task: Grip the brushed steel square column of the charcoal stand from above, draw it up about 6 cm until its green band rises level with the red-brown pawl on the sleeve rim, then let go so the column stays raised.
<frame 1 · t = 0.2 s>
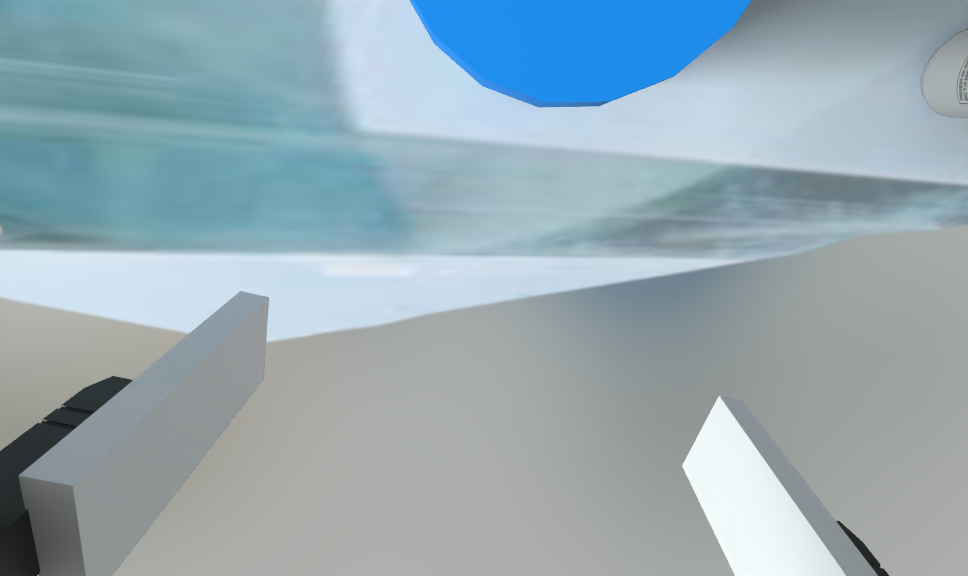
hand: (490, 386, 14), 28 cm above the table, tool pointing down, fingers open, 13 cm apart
thermos: (527, 10, 35), on the table
energy drink can: (954, 72, 36), on the table
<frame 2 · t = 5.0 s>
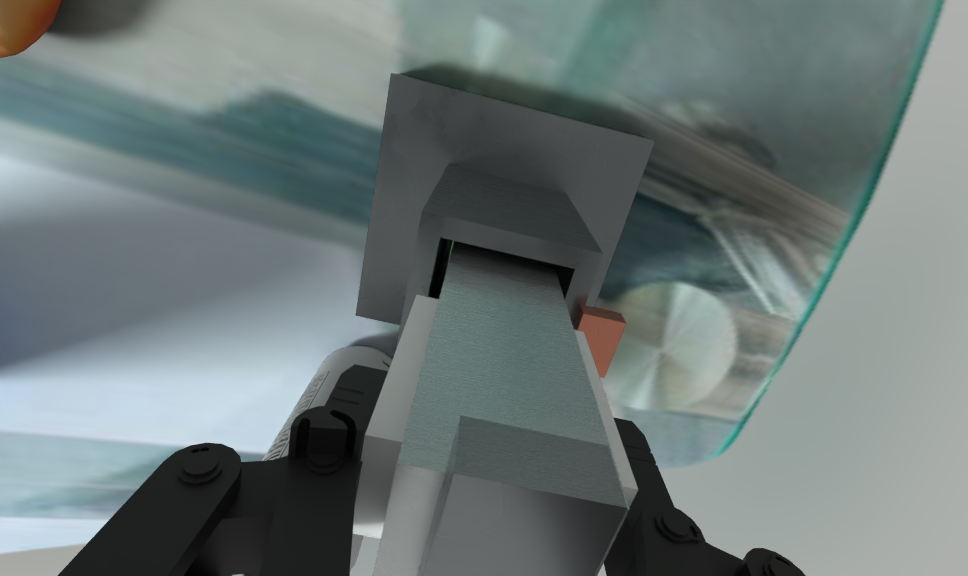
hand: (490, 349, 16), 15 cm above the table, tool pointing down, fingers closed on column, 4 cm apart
stand base: (493, 225, 29), on the table
energy drink can: (365, 374, 34), on the table
column: (491, 325, 17), point 13 cm above the table, slide at 0.0 cm, touching gripper
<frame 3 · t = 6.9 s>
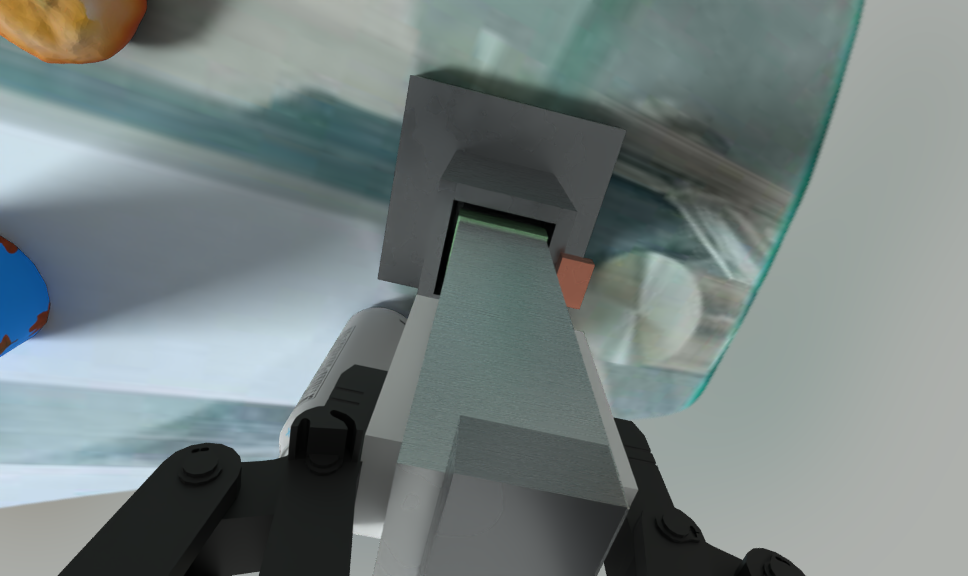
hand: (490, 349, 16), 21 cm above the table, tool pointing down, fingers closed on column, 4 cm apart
stand base: (493, 203, 35), on the table
energy drink can: (383, 334, 39), on the table
column: (491, 325, 17), point 19 cm above the table, slide at 5.9 cm, touching gripper
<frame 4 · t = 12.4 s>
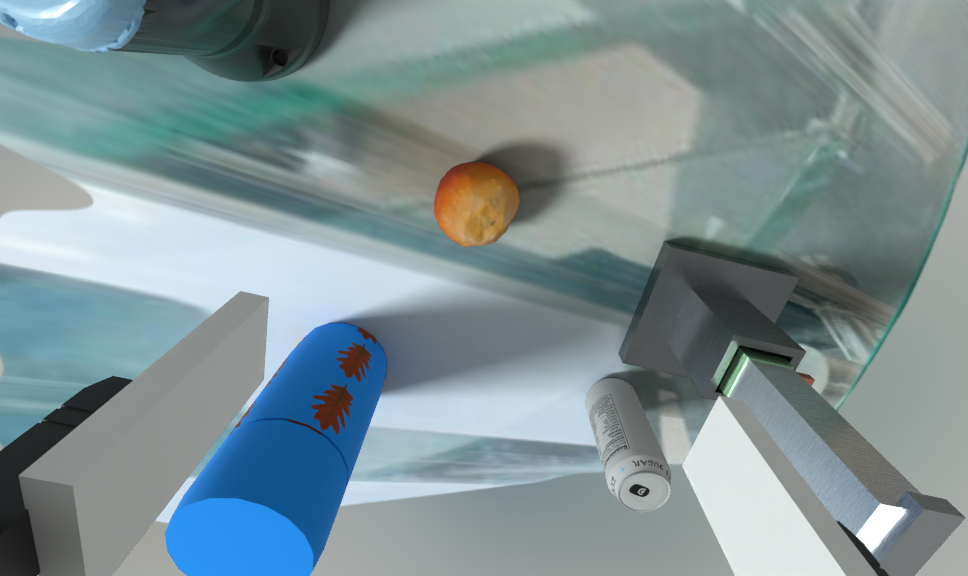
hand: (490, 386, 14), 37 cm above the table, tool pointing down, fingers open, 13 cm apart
thermos: (343, 360, 57), on the table
stand base: (700, 314, 53), on the table
energy drink can: (608, 393, 58), on the table
fruit: (477, 195, 49), on the table
column: (798, 426, 36), point 19 cm above the table, slide at 6.0 cm
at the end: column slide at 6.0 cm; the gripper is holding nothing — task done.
